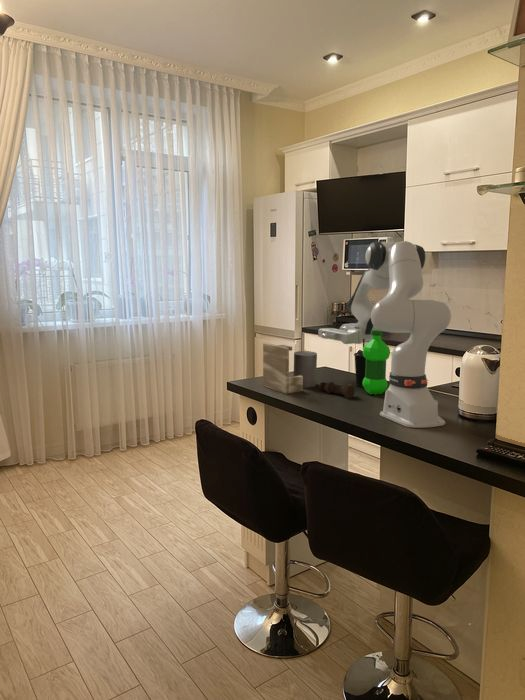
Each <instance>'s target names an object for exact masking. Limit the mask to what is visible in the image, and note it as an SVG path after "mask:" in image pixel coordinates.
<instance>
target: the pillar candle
mask: <svg viewBox="0 0 525 700" xmlns="http://www.w3.org/2000/svg"><path fill="white" fill-rule="evenodd" d="M317 359H318V353H317V351H316V352H315V351H311V350H310V351H309V350H306V349H304V350H298V351H295V352H294V353H293V377H294V376H303V389H304V388H305V389H306V388H313V387H316V385H317V368H318V367H317V363H318V361H317Z"/></svg>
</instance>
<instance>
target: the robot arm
mask: <svg viewBox="0 0 525 700" xmlns="http://www.w3.org/2000/svg"><path fill="white" fill-rule="evenodd" d="M364 258H365V263H366V266H367V268H368V269H366V270H365V271H363V273H362V276H360V279H359V281H358V283H357V285H356V286H355V287H356V288H355V290H354V292H353V294H352V296H350V298H349V300H348V302H347V311H348V312H349V313H350V314H351V315H352V316H354V317H355V319H356V320H357V322H355V323H354V322H353V323H344V324H342V325H341V326H340V327H339V328H334V327H323V328H319V329H318V331H317V332H318V337H320V338H322V339H326V340H333V341H337V342H338V341H339V342H341V343H342V344H344V345H350V344H351V345H353V344H356V345H357V344H358V345H359V344H363V339H365V343H368V342H369V341H371V340H372V339H373V335H371V330H380V331H383V332H386V333H391V334H393V333H395V334H403V333H404V334H410V336H409V338H408V339H407V340H406V341H404V342H402V343H400V344H398V345H397V346H395V347H394V348H393V350H392V352H391V362H390V363H391V366H390V372H389V376H388V384H389V385H388V387H387V389H386V390H385V391H384V393H385V394H384V400H383V401H384V402H383V410H381V411H379V416H381V417H383V418H385V419H388V420H390V421H392V422H395V423H397V424H399V425H402V426H404V427H405V428H414V429H415V428H419V429H421V428H435V427H440V426H445V425H446V421H445V420H444V419H443V418H442V417H441V416H440V415H439V409H438V407H439V401H438V400H437V399H436V400H435V399H434V397H433V395H432V393H431V392H430V390H429V388H428V381H429V380H428V379H427V374H426V363H427V362H426V361H427V357H428V356H427V355H428V351H429V348H430V346H431V344H432V343H433V341H434V340H435V339H436V337H438V336H439V335H440V334H441V333H442V332H444V331H445V330H446V329H447V328H448V327H449V325H450V323H451V320H452V319H451V318H452V313H451V310H450V307H449V306H448V304H446V303H445V302H443V301H439V300H433V299H412V298H414V297H416V296H417V295H418V294H419V293H420V292H421V291H422V289H423V287H424V278H423V276H424V275H423V268H424V266H425V264H426V250H425V249H424V248H423V246H421V245H418V244H414V243H412V242H411V241H407V240H402V241H374V242H371V243H370V244H369V245H368V246H367V248H366V251H365V257H364ZM371 289H375V290H383V291H384V290H387V289H388V292H387V293H386V295H385V296H384V297H383V298H381V299H380V300H379V301H376V303H375V304H374V303H373V302H372V301H371V300H370V298H369V295H368V294H369V292H370V290H371Z"/></svg>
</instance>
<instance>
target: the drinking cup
mask: <svg viewBox="0 0 525 700" xmlns="http://www.w3.org/2000/svg"><path fill="white" fill-rule="evenodd" d="M365 343H366V342H365V339H363V342H362V348H363V347H364V346H365V345H366V344H365ZM353 356H354V369H355V381H356V382H355V384H356V387H357V388H360V387H363V379H364V378H365V368H366V358H365V357H364V356H363V350H360V351H357V352H355V353H353Z"/></svg>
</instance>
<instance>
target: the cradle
mask: <svg viewBox="0 0 525 700" xmlns="http://www.w3.org/2000/svg"><path fill="white" fill-rule="evenodd" d="M291 351H293V346H291V345H287V344H280V345H279V344H277V345H276V344H272V343H268V342H263V343H262V371H263V372H262V386H263V387H265V388H267V389H271V390H273V391H276V392H279V393H281V394H285V395H289V394H291V393H298V392H303V391H304V387H303V376H294V375H293V376H290V352H291Z"/></svg>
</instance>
